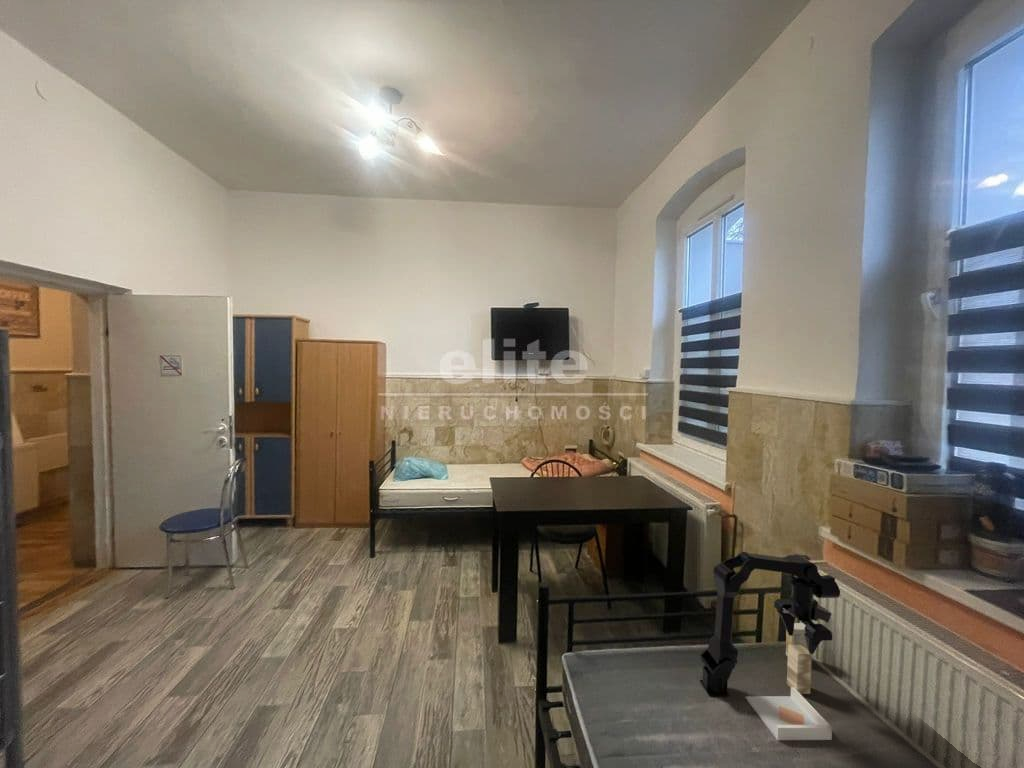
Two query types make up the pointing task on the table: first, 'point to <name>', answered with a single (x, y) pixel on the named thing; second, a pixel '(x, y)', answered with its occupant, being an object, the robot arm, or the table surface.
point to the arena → (791, 717)
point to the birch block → (799, 668)
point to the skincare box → (796, 636)
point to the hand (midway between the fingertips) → (800, 644)
